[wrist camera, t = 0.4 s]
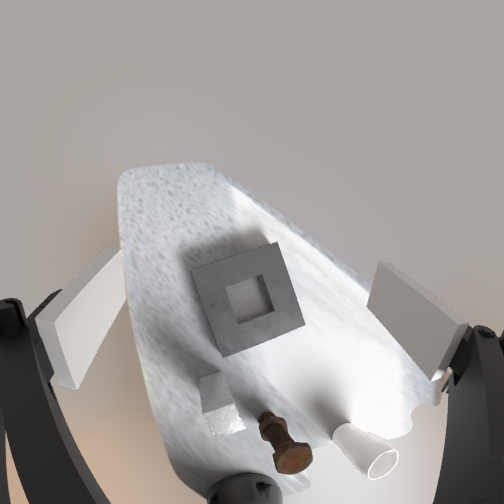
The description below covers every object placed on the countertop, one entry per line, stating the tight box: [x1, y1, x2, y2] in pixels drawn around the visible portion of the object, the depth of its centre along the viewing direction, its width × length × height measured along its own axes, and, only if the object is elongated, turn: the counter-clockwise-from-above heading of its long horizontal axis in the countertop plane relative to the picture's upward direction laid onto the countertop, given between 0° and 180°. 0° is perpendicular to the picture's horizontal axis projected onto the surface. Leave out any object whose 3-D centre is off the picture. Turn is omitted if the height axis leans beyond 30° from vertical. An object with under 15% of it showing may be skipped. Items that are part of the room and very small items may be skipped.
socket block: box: [191, 242, 305, 358], centre depth 44 cm, size 14×14×4 cm
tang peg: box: [199, 371, 245, 439], centre depth 36 cm, size 4×4×14 cm
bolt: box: [259, 412, 313, 475], centre depth 36 cm, size 6×5×15 cm
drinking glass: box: [332, 423, 399, 480], centre depth 38 cm, size 7×7×15 cm
